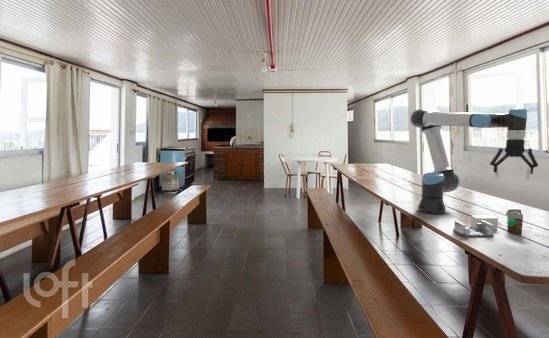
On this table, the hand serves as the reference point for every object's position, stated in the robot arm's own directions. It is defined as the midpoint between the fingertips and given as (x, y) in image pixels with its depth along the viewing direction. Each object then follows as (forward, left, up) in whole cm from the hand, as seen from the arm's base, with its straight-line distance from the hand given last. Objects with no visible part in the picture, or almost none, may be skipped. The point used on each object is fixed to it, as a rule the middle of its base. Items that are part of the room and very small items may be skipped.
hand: (512, 179), depth 164 cm
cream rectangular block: (-12, -20, -23) cm, 33 cm away
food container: (0, -19, -23) cm, 30 cm away
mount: (-17, -32, -23) cm, 43 cm away
